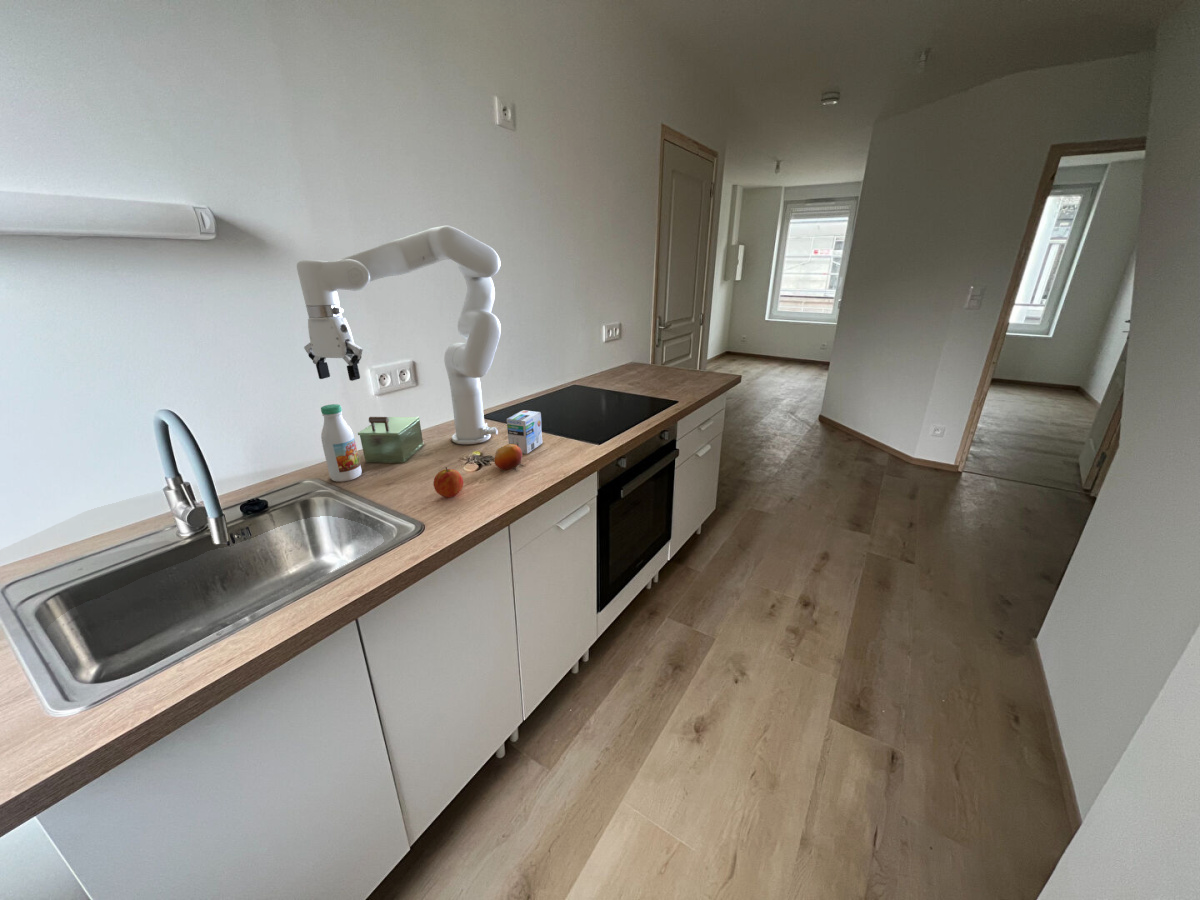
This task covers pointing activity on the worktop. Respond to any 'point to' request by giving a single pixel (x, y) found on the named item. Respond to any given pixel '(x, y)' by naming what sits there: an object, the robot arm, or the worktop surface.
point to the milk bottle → (339, 445)
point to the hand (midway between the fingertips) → (339, 378)
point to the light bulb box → (525, 430)
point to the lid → (388, 425)
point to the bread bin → (392, 445)
